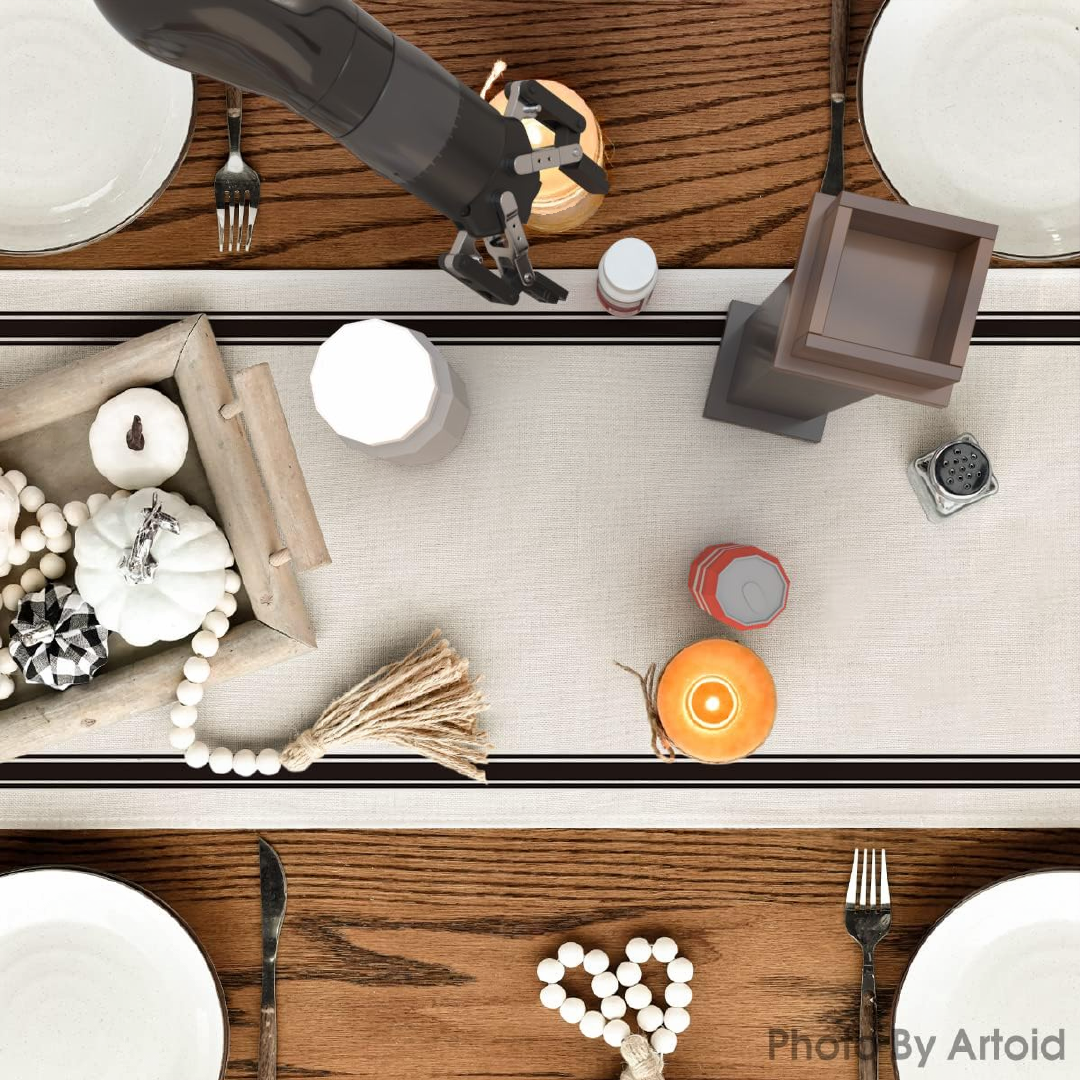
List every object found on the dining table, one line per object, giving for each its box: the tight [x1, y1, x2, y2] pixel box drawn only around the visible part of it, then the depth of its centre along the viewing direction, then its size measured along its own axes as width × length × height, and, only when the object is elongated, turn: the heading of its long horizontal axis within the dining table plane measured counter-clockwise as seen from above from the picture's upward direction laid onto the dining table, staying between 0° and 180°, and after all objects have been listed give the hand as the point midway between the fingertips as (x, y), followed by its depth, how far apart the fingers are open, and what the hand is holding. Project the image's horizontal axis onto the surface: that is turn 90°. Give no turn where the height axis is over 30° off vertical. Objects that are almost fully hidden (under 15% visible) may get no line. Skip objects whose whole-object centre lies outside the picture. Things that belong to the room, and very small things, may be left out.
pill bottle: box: [595, 237, 659, 318], centre depth 75 cm, size 5×5×8 cm
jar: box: [309, 317, 472, 468], centre depth 71 cm, size 10×10×18 cm
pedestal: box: [701, 270, 877, 445], centre depth 66 cm, size 10×10×26 cm
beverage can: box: [687, 542, 791, 632], centre depth 73 cm, size 6×6×12 cm
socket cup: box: [770, 189, 1000, 410], centre depth 51 cm, size 10×10×4 cm
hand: (581, 242), depth 70 cm, fingers open, 8 cm apart
